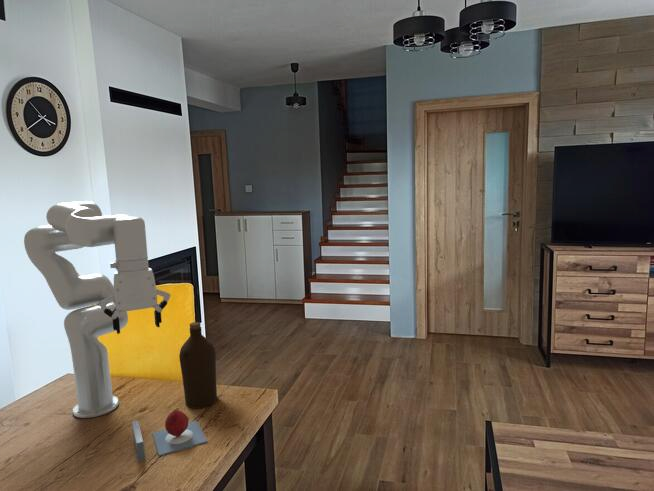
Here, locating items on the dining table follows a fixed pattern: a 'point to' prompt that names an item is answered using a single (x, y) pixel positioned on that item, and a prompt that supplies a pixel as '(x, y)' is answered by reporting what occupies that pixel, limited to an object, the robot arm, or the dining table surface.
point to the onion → (176, 422)
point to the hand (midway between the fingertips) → (138, 329)
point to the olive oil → (198, 369)
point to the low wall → (138, 441)
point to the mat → (179, 439)
